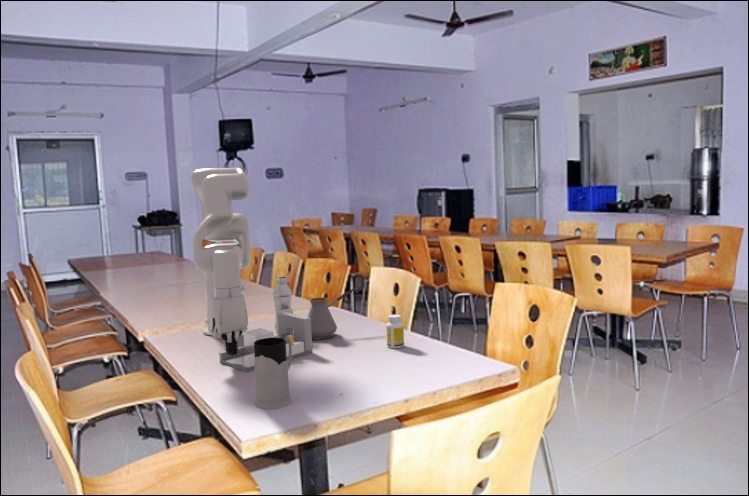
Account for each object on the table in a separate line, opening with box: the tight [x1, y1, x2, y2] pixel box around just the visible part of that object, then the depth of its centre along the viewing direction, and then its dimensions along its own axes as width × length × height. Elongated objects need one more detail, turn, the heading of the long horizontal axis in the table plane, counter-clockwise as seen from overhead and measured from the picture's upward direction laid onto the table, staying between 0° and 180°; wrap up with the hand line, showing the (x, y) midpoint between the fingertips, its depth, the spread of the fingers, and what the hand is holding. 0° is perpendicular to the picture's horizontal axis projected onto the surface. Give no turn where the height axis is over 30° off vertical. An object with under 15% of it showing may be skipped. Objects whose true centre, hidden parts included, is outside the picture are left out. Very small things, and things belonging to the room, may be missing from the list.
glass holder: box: [254, 338, 293, 410], centre depth 147 cm, size 9×14×15 cm, turn 159°
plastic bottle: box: [272, 276, 294, 335], centre depth 208 cm, size 6×7×20 cm
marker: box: [287, 335, 294, 343], centre depth 181 cm, size 1×1×2 cm
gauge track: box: [218, 312, 313, 373], centre depth 182 cm, size 14×24×11 cm, turn 134°
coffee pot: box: [307, 287, 359, 340], centre depth 207 cm, size 21×12×15 cm, turn 124°
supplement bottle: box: [385, 314, 405, 349], centre depth 189 cm, size 5×5×10 cm
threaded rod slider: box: [242, 327, 290, 355], centre depth 182 cm, size 11×14×7 cm
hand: (232, 354), depth 175 cm, fingers closed
